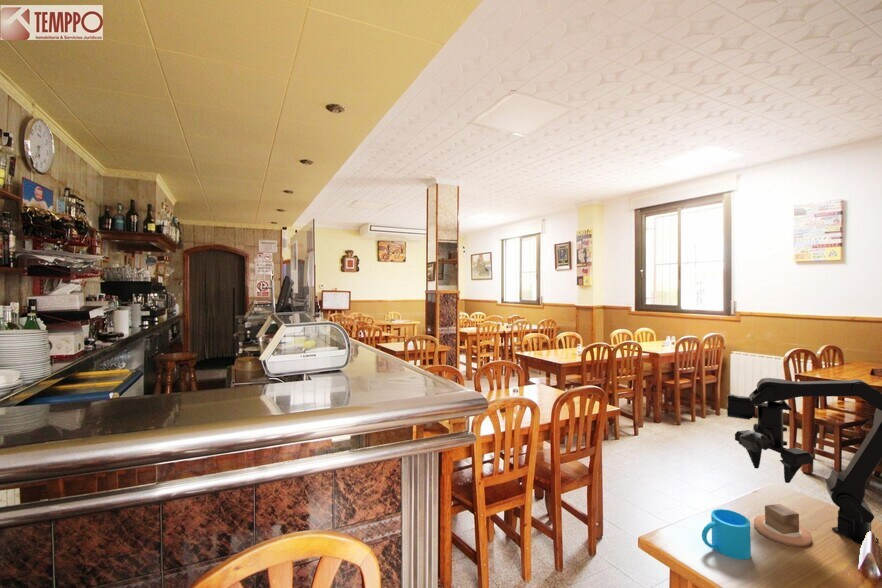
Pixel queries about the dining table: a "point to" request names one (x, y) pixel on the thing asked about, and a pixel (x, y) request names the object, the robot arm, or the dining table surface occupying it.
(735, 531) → the mug
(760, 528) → the terracotta dish
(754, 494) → the dining table surface
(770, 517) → the walnut block
